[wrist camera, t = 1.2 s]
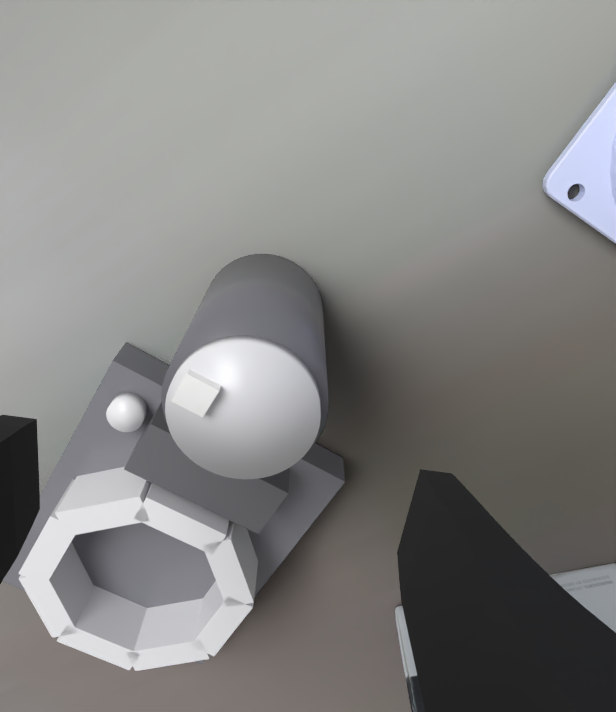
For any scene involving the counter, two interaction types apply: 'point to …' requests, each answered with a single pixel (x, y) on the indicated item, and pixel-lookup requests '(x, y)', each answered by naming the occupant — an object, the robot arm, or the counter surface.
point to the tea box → (588, 586)
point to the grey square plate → (157, 531)
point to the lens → (250, 371)
